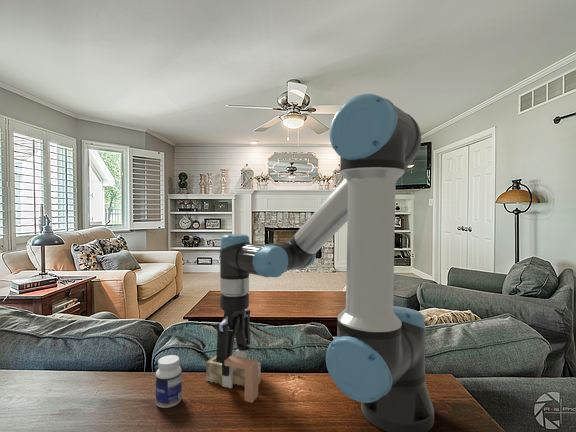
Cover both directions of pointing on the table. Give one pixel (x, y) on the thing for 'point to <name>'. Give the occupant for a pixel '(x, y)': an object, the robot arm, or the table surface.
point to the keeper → (246, 374)
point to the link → (216, 373)
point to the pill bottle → (168, 382)
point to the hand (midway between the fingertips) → (234, 380)
